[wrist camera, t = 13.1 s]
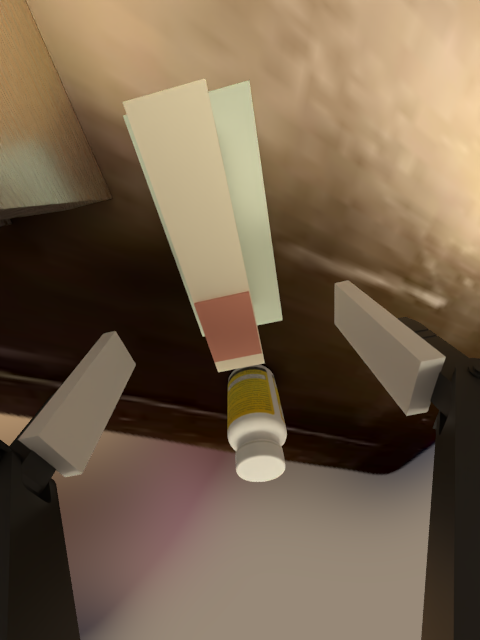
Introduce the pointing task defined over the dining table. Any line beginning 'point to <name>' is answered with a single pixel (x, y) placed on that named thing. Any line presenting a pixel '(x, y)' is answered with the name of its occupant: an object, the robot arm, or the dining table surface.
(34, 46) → the plate
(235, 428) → the supplement bottle
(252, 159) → the pad
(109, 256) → the dining table surface
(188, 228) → the cream rectangular block
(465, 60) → the dining table surface
